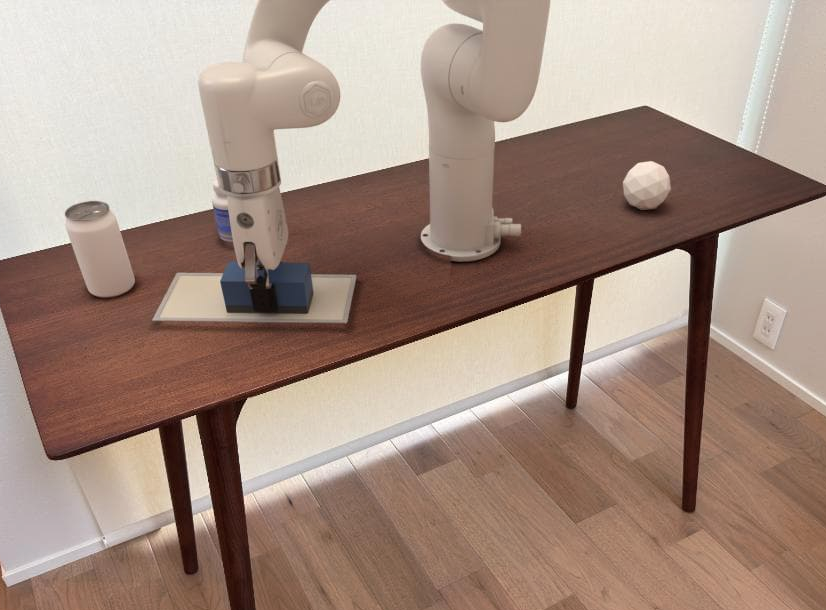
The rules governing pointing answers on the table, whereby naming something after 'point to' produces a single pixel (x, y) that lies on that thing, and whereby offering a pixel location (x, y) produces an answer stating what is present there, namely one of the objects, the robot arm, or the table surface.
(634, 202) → the geometric ball
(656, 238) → the table surface
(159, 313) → the whiteboard
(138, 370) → the table surface
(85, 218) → the can
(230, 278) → the eraser
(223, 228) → the pill bottle
